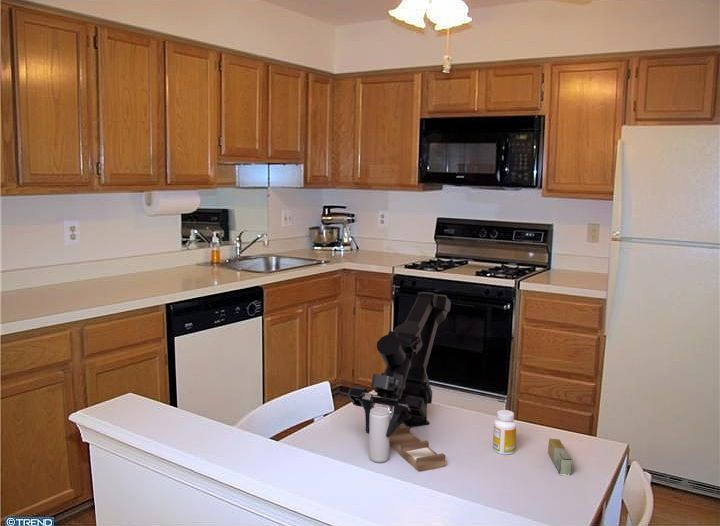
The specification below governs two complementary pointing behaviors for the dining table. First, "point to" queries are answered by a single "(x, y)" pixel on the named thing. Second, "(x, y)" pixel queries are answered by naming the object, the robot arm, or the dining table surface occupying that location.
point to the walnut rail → (415, 450)
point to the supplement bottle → (504, 433)
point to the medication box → (559, 456)
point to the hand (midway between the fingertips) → (377, 434)
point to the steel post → (391, 409)
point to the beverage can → (379, 434)
